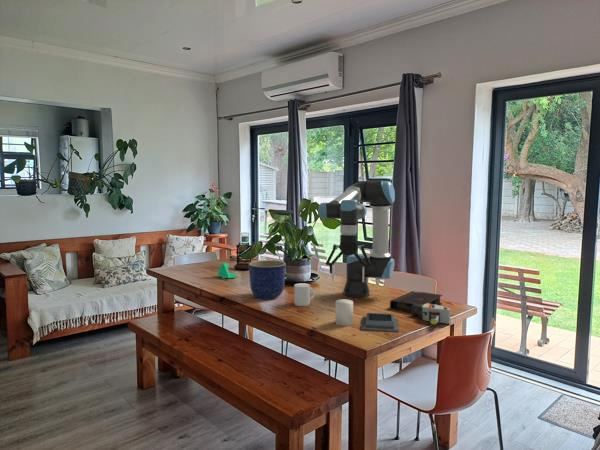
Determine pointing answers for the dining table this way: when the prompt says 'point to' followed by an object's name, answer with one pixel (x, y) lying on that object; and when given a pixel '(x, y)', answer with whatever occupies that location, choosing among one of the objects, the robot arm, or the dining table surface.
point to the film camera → (432, 313)
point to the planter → (267, 278)
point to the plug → (344, 312)
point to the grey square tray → (380, 322)
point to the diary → (414, 300)
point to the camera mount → (225, 271)
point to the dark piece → (241, 265)
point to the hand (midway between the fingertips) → (348, 281)
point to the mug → (302, 294)
